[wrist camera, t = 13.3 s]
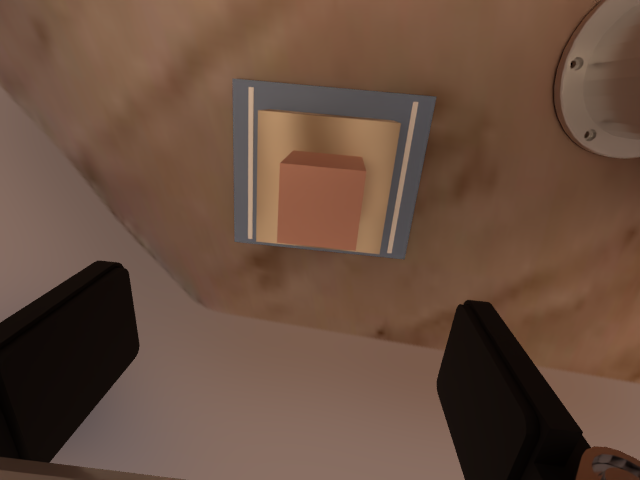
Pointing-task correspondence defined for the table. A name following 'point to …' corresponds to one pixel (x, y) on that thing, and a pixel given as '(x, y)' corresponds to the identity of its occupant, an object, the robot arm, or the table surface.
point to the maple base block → (331, 138)
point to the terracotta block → (320, 199)
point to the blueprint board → (343, 102)
